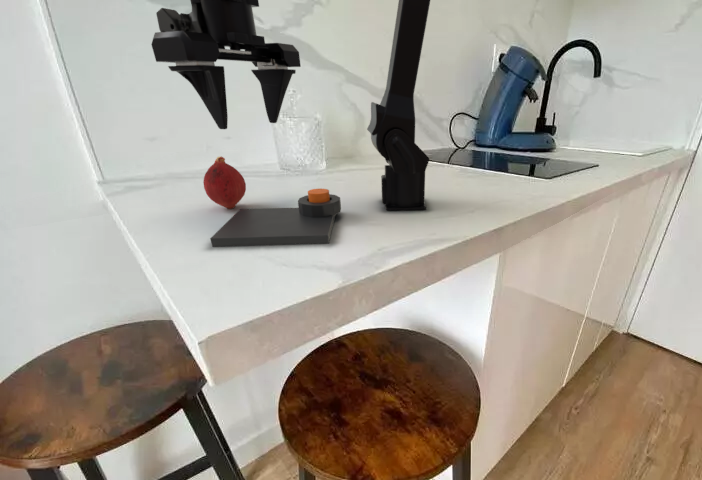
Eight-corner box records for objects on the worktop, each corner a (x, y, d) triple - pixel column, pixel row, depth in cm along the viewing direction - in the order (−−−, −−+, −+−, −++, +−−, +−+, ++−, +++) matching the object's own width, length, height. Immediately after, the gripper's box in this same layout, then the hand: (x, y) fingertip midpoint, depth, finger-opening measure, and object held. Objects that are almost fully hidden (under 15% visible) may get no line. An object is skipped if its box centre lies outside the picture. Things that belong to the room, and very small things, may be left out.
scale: (342, 212, 57) (341, 193, 56) (336, 244, 46) (334, 221, 44) (244, 214, 56) (239, 195, 54) (212, 247, 45) (206, 224, 43)
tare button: (330, 198, 55) (329, 188, 54) (329, 204, 52) (328, 193, 51) (310, 198, 54) (309, 188, 54) (307, 204, 52) (306, 193, 51)
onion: (235, 215, 55) (222, 161, 51) (201, 213, 56) (187, 159, 52) (256, 204, 60) (247, 154, 56) (225, 202, 61) (214, 152, 57)
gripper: (233, 3, 54) (255, 118, 61) (95, -28, 39) (146, 130, 46) (294, -3, 50) (309, 121, 57) (167, -41, 35) (209, 134, 42)
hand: (250, 125), depth 51 cm, fingers open, 9 cm apart
